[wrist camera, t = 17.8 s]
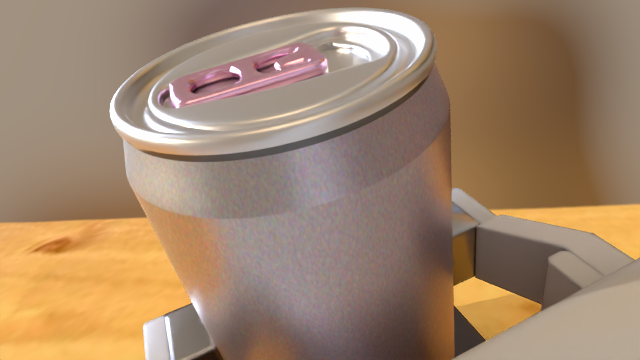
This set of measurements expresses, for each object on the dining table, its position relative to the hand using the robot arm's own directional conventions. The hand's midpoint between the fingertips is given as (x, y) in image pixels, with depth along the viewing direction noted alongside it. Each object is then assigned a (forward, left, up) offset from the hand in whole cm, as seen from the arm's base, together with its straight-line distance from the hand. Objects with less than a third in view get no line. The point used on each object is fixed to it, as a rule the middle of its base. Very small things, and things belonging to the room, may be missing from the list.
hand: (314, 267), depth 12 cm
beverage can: (0, -1, -9) cm, 9 cm away
